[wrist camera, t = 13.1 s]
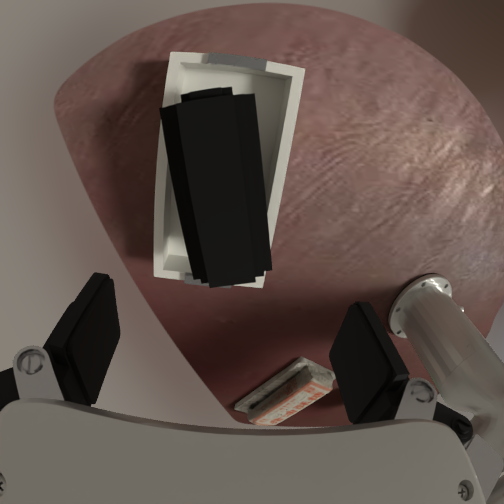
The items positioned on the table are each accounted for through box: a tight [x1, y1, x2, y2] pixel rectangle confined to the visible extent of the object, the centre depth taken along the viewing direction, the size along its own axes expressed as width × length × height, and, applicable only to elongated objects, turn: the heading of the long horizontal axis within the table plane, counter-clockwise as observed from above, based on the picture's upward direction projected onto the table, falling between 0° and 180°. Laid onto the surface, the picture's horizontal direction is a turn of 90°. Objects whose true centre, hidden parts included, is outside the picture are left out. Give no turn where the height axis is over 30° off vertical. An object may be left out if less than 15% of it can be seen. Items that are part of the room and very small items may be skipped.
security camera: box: [159, 87, 272, 288], centre depth 25 cm, size 7×18×10 cm, turn 6°
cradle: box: [154, 52, 305, 288], centre depth 28 cm, size 12×23×5 cm, turn 171°
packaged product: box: [234, 357, 336, 426], centre depth 47 cm, size 18×5×10 cm
